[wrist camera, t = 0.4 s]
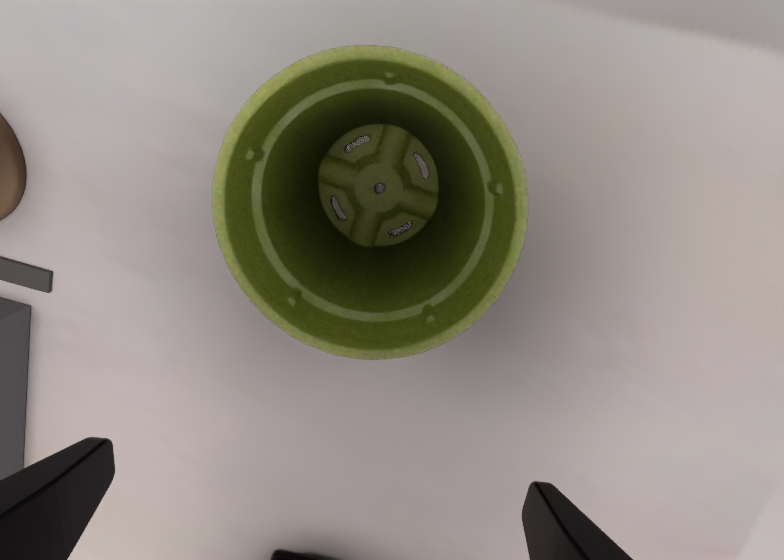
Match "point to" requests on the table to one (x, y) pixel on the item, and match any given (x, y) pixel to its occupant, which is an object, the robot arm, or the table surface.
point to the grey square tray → (13, 383)
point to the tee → (10, 170)
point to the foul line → (25, 275)
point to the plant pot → (370, 202)
